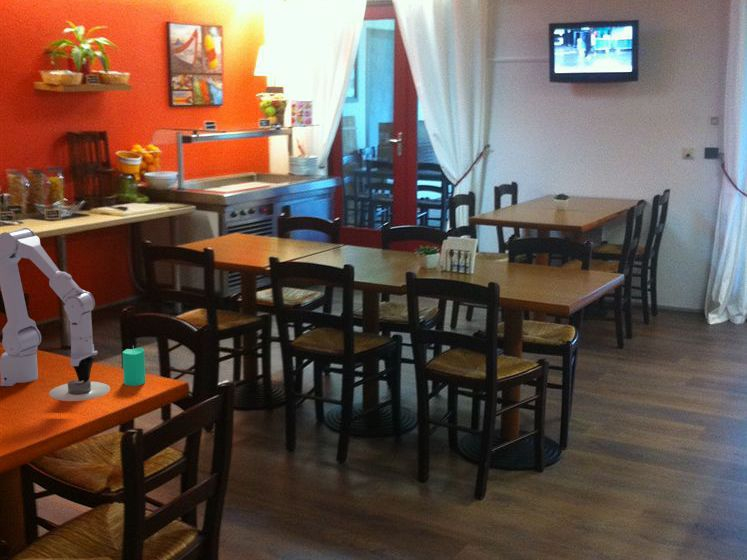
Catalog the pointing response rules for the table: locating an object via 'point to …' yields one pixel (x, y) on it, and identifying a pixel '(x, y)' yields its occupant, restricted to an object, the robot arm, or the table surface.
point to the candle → (134, 366)
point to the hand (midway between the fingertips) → (84, 383)
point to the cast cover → (79, 387)
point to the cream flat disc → (96, 391)
